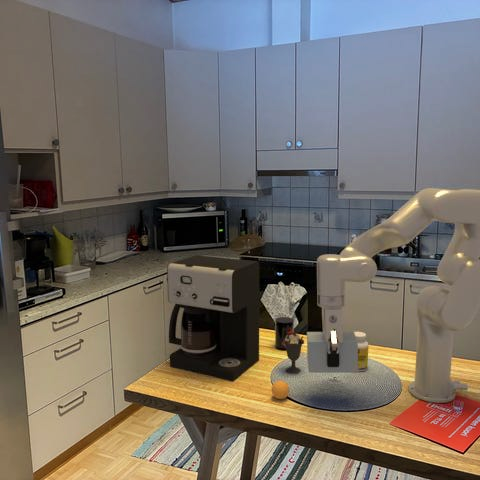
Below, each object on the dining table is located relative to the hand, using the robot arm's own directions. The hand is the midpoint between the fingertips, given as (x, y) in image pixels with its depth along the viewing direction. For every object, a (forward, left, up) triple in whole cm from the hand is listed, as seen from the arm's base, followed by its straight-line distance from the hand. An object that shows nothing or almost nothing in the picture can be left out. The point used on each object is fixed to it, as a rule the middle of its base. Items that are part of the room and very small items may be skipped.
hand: (331, 359), depth 135 cm
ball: (+14, 0, -9) cm, 17 cm away
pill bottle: (-11, -23, -12) cm, 28 cm away
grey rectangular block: (0, 0, -2) cm, 2 cm away
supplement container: (+13, -39, -12) cm, 43 cm away
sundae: (+10, -19, -12) cm, 25 cm away
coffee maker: (+38, -23, -12) cm, 46 cm away
